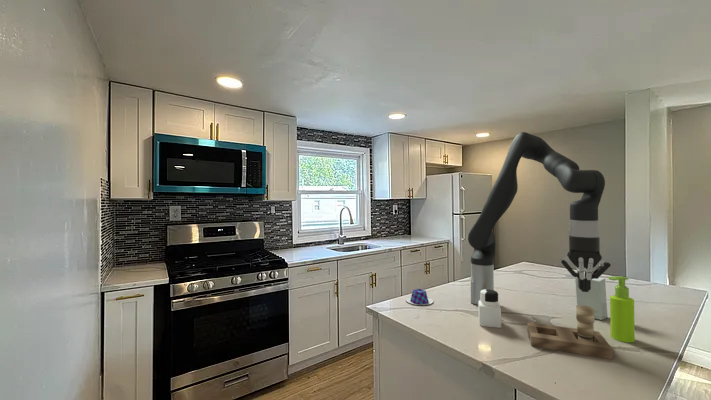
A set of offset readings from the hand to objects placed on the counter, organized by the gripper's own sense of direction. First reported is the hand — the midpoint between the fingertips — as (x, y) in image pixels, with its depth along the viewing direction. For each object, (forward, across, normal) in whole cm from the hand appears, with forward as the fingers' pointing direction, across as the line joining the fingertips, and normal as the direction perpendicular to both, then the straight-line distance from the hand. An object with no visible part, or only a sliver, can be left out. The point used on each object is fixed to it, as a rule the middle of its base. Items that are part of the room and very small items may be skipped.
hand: (584, 291), depth 94 cm
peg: (+17, 0, 0) cm, 17 cm away
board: (+17, -5, 0) cm, 18 cm away
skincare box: (+17, +9, +31) cm, 37 cm away
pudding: (+18, -56, +22) cm, 63 cm away
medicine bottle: (+17, -27, +8) cm, 33 cm away
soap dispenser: (+17, +12, +11) cm, 24 cm away
